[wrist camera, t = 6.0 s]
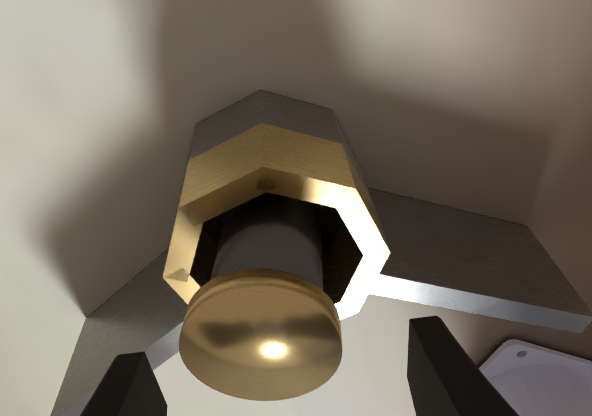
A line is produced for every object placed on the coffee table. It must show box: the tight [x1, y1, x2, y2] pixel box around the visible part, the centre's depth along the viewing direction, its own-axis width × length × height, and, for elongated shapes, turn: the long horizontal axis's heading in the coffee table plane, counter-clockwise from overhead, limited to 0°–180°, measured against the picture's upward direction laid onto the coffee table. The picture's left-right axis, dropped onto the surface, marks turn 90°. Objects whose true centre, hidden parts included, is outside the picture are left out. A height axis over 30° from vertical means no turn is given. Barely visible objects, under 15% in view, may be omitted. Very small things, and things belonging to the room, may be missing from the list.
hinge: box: [51, 90, 592, 416], centre depth 19 cm, size 16×13×5 cm
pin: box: [179, 192, 342, 401], centre depth 15 cm, size 4×4×8 cm
